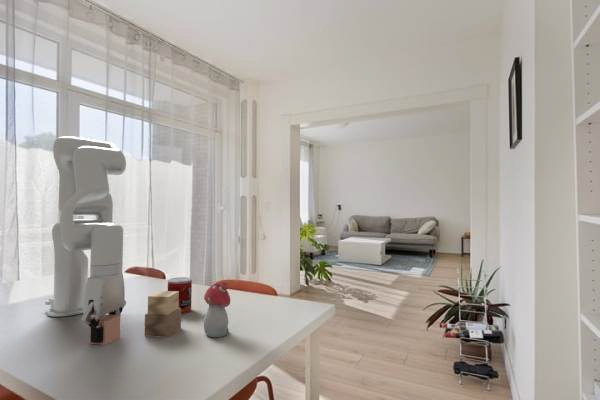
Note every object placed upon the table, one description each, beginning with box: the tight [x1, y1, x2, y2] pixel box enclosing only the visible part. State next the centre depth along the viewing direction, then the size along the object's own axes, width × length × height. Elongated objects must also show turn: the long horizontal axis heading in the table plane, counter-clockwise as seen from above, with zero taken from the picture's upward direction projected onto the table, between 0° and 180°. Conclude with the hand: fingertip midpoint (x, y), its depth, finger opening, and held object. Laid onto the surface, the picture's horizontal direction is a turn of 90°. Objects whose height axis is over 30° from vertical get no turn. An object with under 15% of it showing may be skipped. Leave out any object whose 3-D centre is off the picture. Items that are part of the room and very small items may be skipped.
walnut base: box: [144, 308, 182, 338], centre depth 92 cm, size 7×7×6 cm
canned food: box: [167, 276, 193, 315], centre depth 110 cm, size 8×8×11 cm
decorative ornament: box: [203, 281, 231, 338], centre depth 90 cm, size 9×7×15 cm
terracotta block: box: [88, 314, 121, 345], centre depth 85 cm, size 5×5×6 cm
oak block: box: [147, 290, 179, 315], centre depth 92 cm, size 6×6×5 cm
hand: (105, 337), depth 85 cm, fingers closed on terracotta block, 5 cm apart
